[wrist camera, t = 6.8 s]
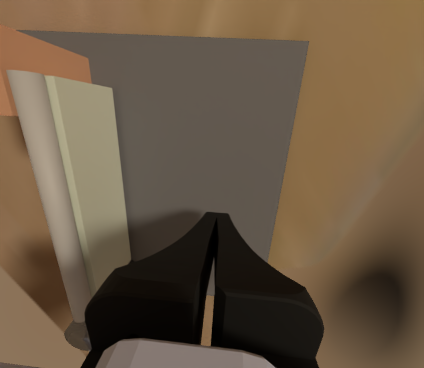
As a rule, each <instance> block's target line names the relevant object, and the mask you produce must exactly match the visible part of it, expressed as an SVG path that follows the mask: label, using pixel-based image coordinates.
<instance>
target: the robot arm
mask: <svg viewBox="0 0 424 368" xmlns="http://www.w3.org/2000/svg"><path fill="white" fill-rule="evenodd" d="M213 260H214V285H215V294H214V308H213V322H212V337H211V346H203V345H201V337H202V328H203V319H204V310H205V301H206V295H207V289H208V285H209V280H210V275H211V270H212V265H213ZM84 315H85V323H86V327H87V331H88V335H89V339H90V343H91V347H92V349H91V350H90V351H89V354H88V356H87V357H86V359H85V361H84V362H83V364H82V366H81V368H319V367H318V364H317V361H316V358H315V357H316V354H317V352H318V349H319V346H320V343H321V341H322V338H323V333H324V325H323V321H322V319H321V316H320V314H319V312H318V310H317V308H316V306H315V304H314V302H313V300H312V298H311V297H310V295H309V293H308V292H307V290H306V288H305V287H303V286H301V285H300V284H298V283H297V282H295V281H293V280H291V279H290V278H288V277H286V276H285V275H283V274H282V273H280V272H279V271H277V270H276V269H275V268H273V267H272V266H270V265H269V264H268V263H267V262H265V261H264V260H263V259H262V258H261V257H260V256H258V255H257V254H256V253H255V252H254V251H253V250H252V249H251V248H250V247H249V245H248V244H247V243H246V242H245V240H244V239H243V238H242V236H241V235H240V234H239V232H238V230H237V229H236V227H235V226H234V224H233V222H232V220H231V218H230V215H229V214H228V213H217V212H206V213H205V214H204V215H203V217H202V218H201V219H200V220H199V221H198V222H197V223H196V224H195V225H194V227H193V228H192V229H190V230H189V231H188V232H187V233H186V234H185V235H184V236H182V237H181V238H180V239H179V240H177V241H176V242H174V243H173V244H171V245H170V246H168V247H166V248H164V249H163V250H161V251H159V252H157V253H155V254H153V255H151V256H149V257H146V258H144V259H141V260H139V261H136V262H133V263H130V264H127V265H125V266H122V267H118V268H115V269H114V270H113V272H112V273H111V274H110V275H109V276H108V277H107V278H106V280H105V281H104V282H103V284H102V285H101V286H100V288H99V289H98V291H97V292H96V293H95V295H94V296H93V297H92V299H91V300H90V301H89V303H88V304H87V306H86V309H85V312H84ZM0 368H38V367H30V366H23V365H15V364H7V363H0Z"/></svg>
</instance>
